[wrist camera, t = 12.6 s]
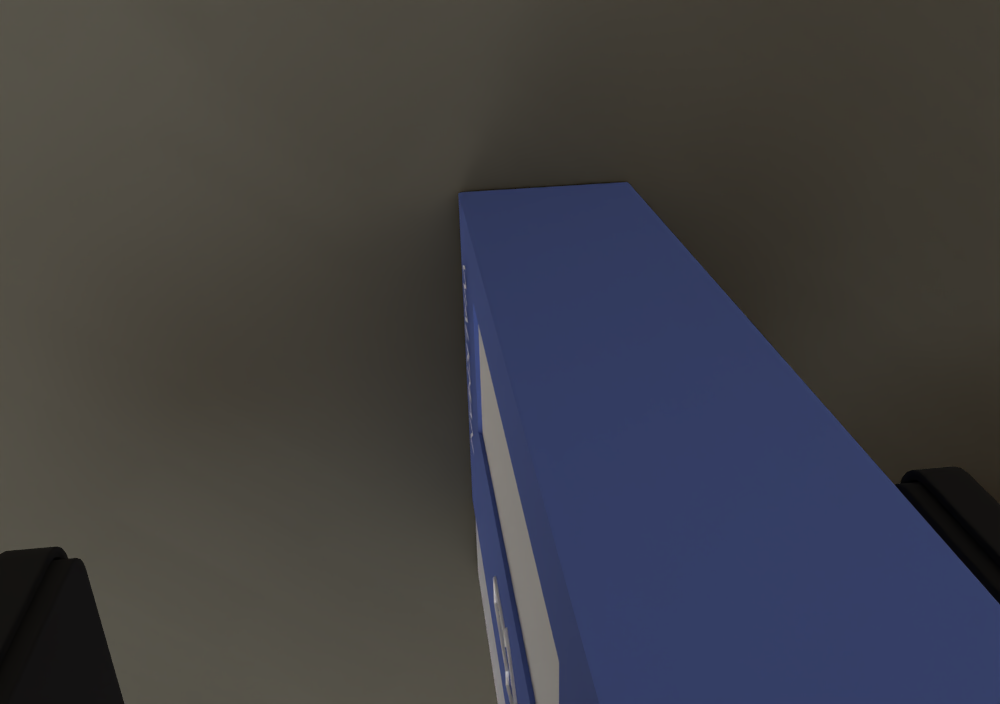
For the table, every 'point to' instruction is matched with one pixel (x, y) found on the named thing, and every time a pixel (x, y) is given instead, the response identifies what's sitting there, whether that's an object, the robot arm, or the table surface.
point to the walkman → (680, 488)
